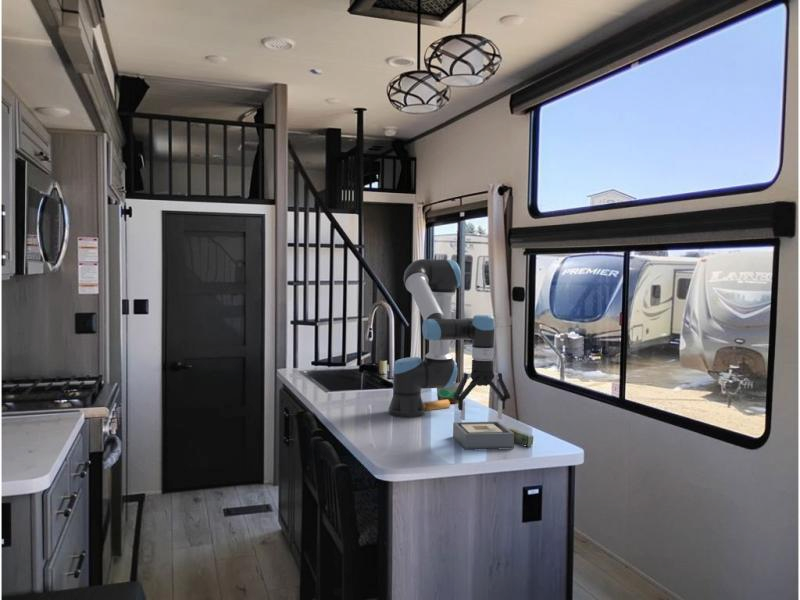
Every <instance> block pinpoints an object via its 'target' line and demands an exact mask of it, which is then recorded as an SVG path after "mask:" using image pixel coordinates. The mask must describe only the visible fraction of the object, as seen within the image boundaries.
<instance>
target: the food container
mask: <svg viewBox="0 0 800 600" xmlns="http://www.w3.org/2000/svg"><path fill="white" fill-rule="evenodd" d="M460 382H461V381H460ZM460 382H455V383H454V384H453V385H452V386H451V387H446V388H436V396H437V401H439V400H446V399H447V400H449V402H450V405H458V400H456V399H454V398H453V396H454V394H455V392H456V390H457V388H458V386H459V384H460Z"/></svg>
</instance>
